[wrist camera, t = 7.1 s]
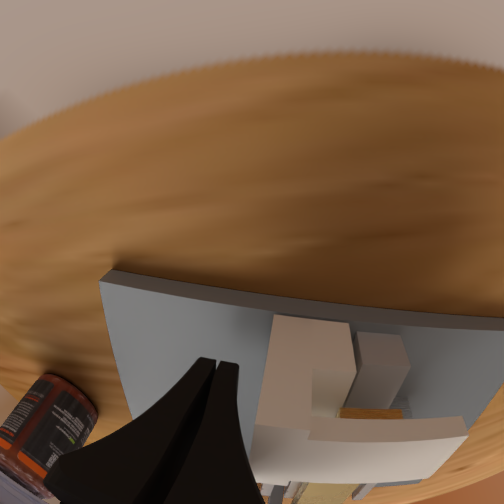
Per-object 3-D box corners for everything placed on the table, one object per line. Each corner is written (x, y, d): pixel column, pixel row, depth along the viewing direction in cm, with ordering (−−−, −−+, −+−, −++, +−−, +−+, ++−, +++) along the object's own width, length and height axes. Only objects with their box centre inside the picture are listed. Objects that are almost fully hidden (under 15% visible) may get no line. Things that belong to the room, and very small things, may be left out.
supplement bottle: (36, 383, 21) (-30, 470, 11) (51, 359, 19) (-33, 466, 8) (87, 427, 22) (32, 520, 12) (111, 412, 20) (47, 528, 10)
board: (416, 472, 19) (424, 528, 13) (151, 445, 21) (126, 501, 16) (523, 318, 12) (572, 388, 7) (111, 269, 14) (37, 339, 9)
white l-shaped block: (403, 393, 13) (422, 483, 8) (263, 382, 14) (245, 480, 9) (434, 330, 12) (476, 426, 7) (273, 314, 12) (254, 424, 7)
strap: (319, 517, 15) (318, 527, 14) (283, 515, 15) (282, 525, 14) (401, 409, 9) (404, 425, 9) (339, 407, 10) (340, 424, 9)
